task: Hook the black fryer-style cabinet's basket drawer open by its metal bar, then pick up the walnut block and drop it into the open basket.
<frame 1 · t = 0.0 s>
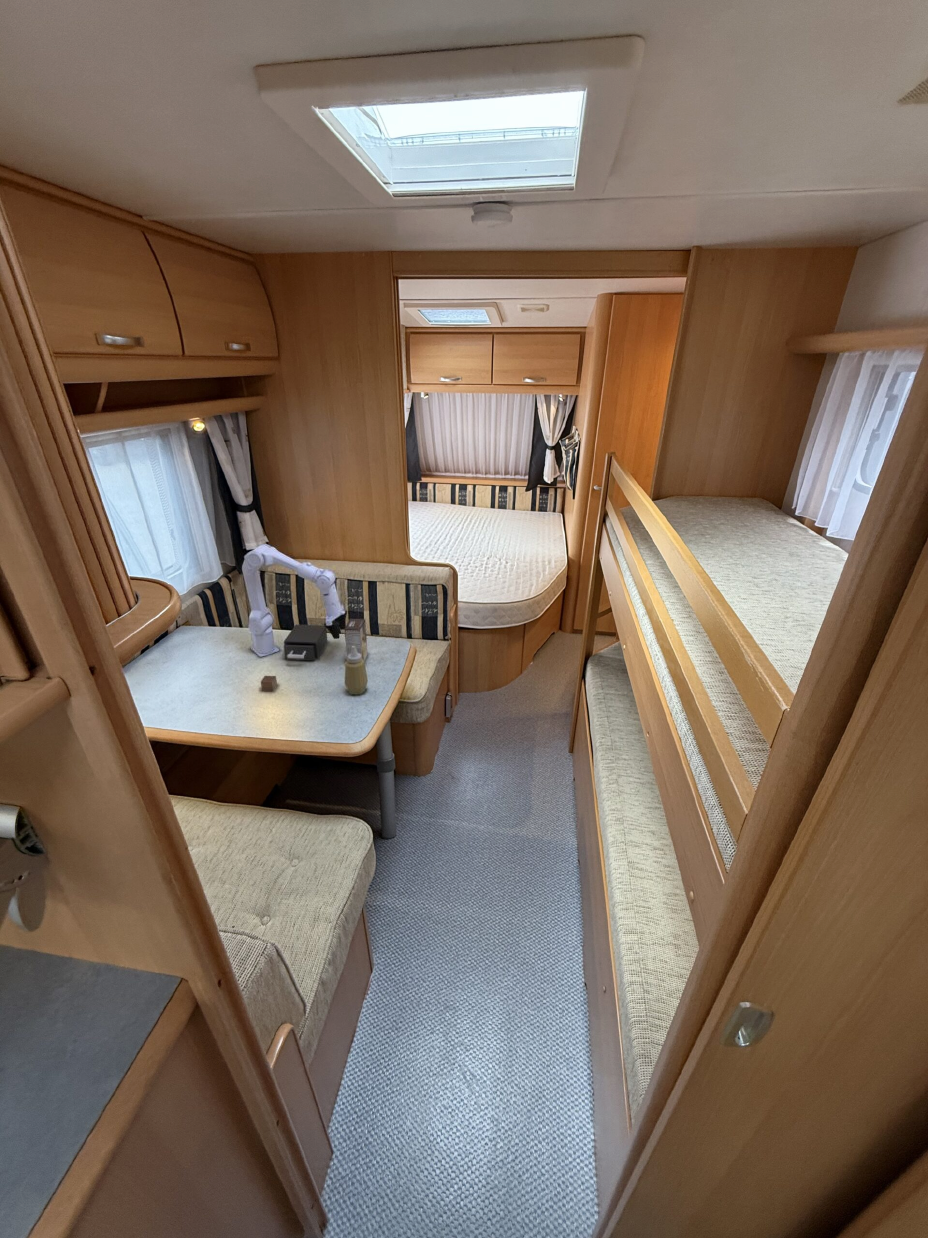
hand: (340, 633, 192), 11 cm above the table, tool pointing down, fingers open, 7 cm apart
coffee box: (357, 660, 196), on the table
squeeze bottle: (357, 690, 177), on the table
block: (269, 688, 176), on the table
basket: (302, 647, 195), point 4 cm above the table, slide at 1.0 cm
fryer: (307, 649, 201), on the table
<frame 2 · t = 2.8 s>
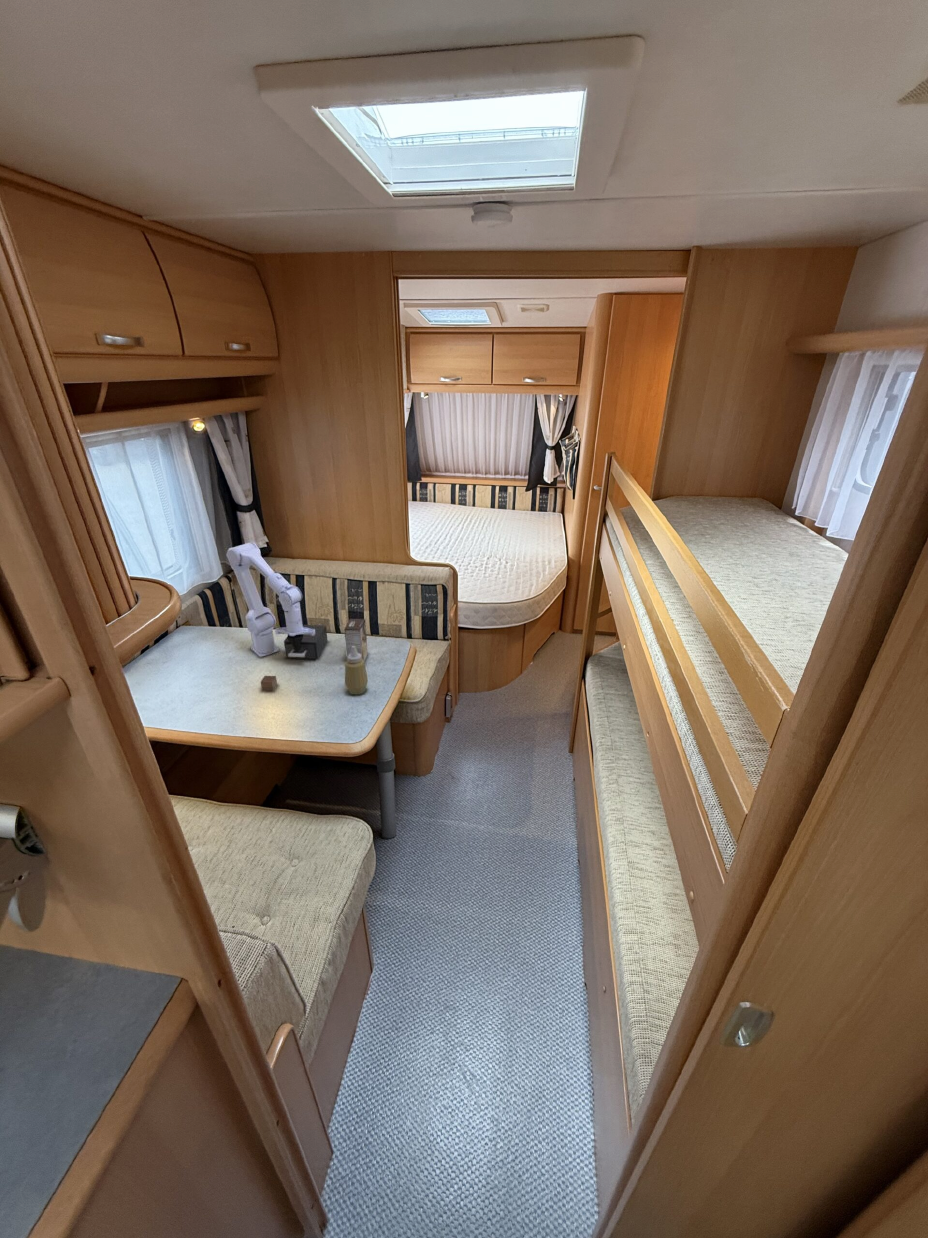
hand: (297, 650, 189), 6 cm above the table, tool pointing down, fingers closed
basket: (303, 646, 196), point 4 cm above the table, slide at 0.0 cm
everything else where it was.
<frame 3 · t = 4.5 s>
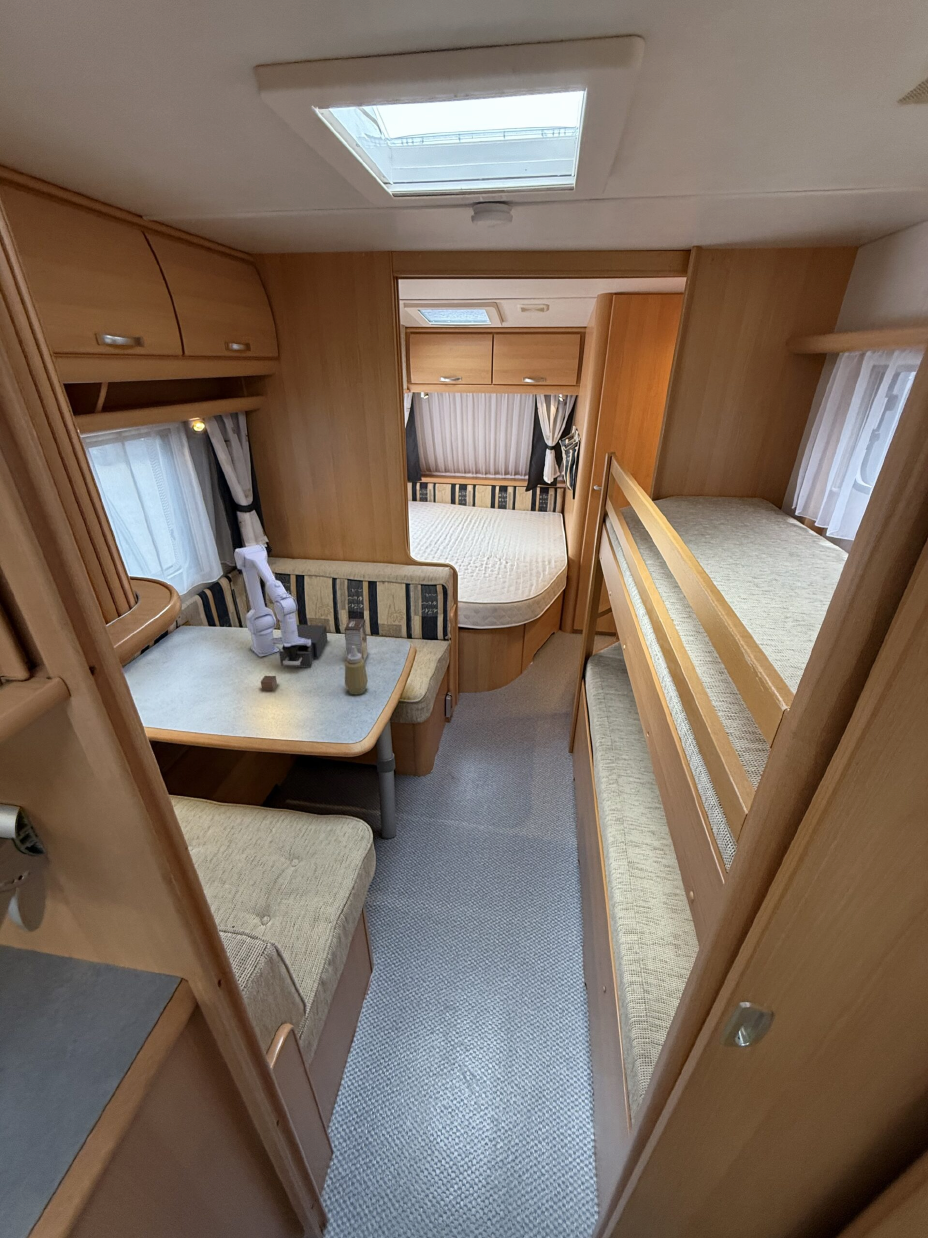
hand: (293, 661, 185), 4 cm above the table, tool pointing down, fingers closed, pressing on basket
basket: (298, 653, 191), point 4 cm above the table, slide at 5.8 cm, touching gripper
everything else where it was.
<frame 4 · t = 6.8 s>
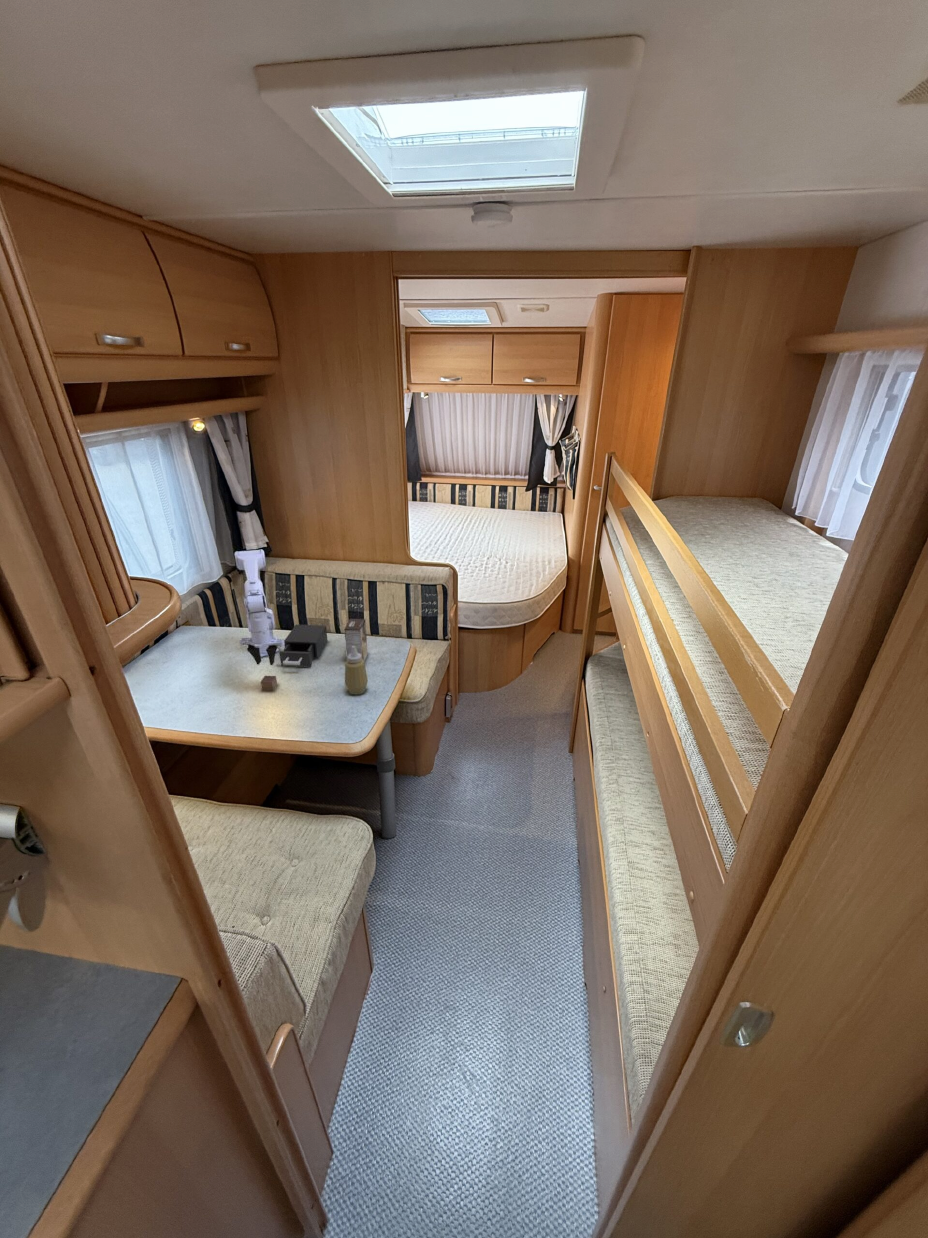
hand: (265, 663, 171), 10 cm above the table, tool pointing down, fingers open, 4 cm apart
basket: (298, 653, 191), point 4 cm above the table, slide at 5.8 cm
everything else where it was.
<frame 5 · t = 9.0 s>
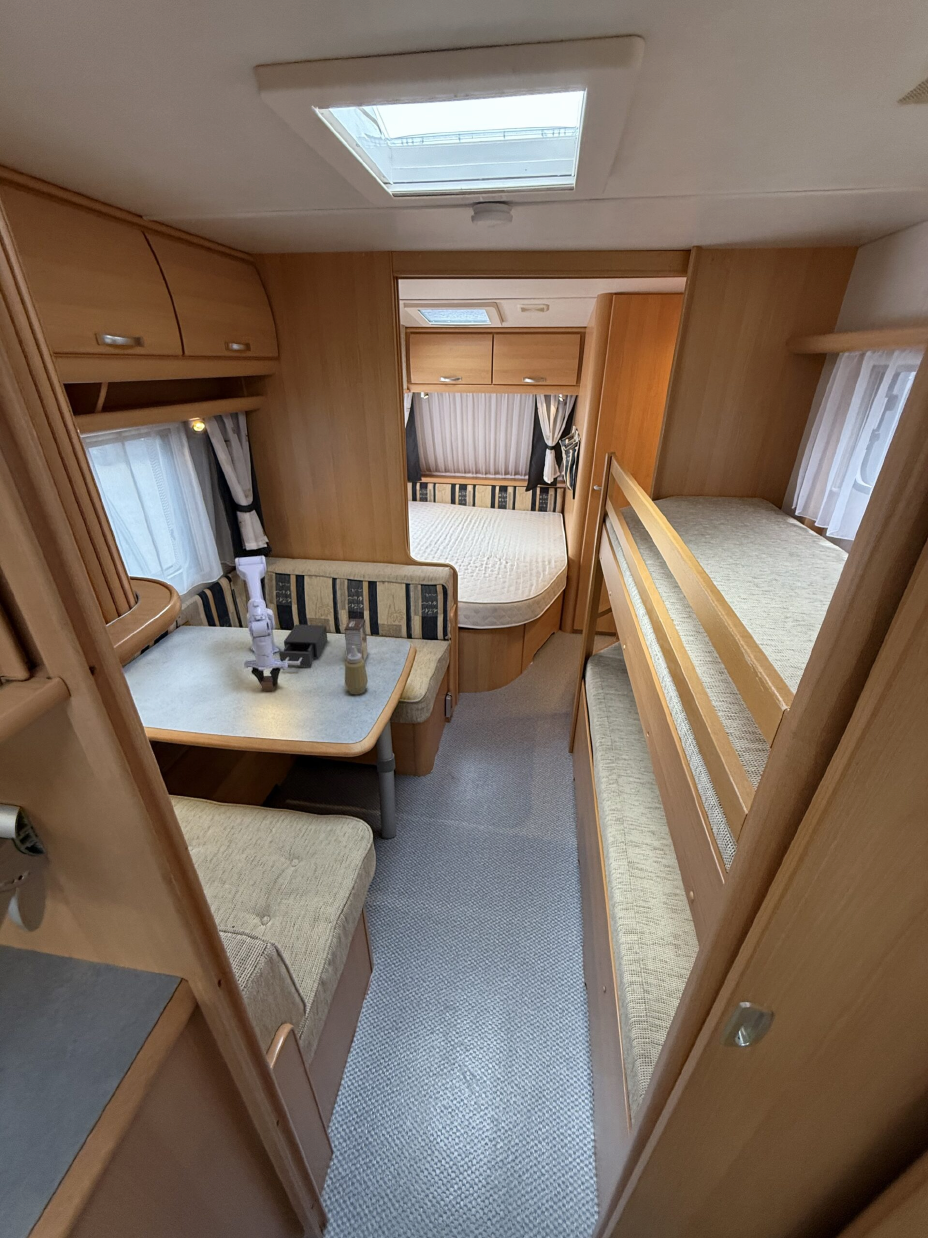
hand: (269, 684, 175), 1 cm above the table, tool pointing down, fingers closed on block, 4 cm apart
block: (269, 688, 176), on the table, touching gripper
everything else where it was.
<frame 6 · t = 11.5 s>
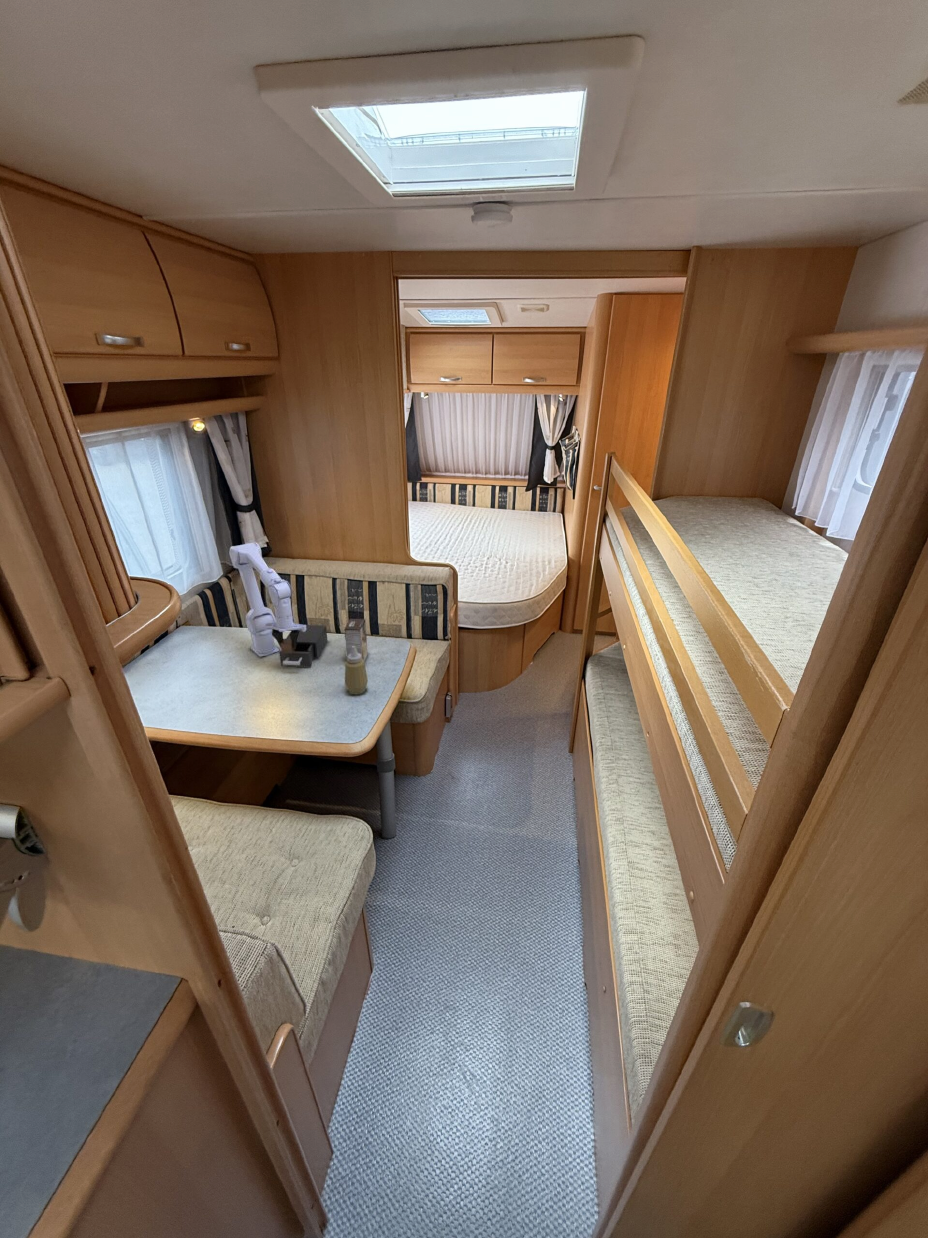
hand: (288, 647, 183), 10 cm above the table, tool pointing down, fingers closed on block, 4 cm apart
block: (288, 650, 184), point 8 cm above the table, touching gripper
everything else where it was.
when the fingers open (6 cm above the table, at t = 13.8 s): block drops 3 cm, resting on basket.
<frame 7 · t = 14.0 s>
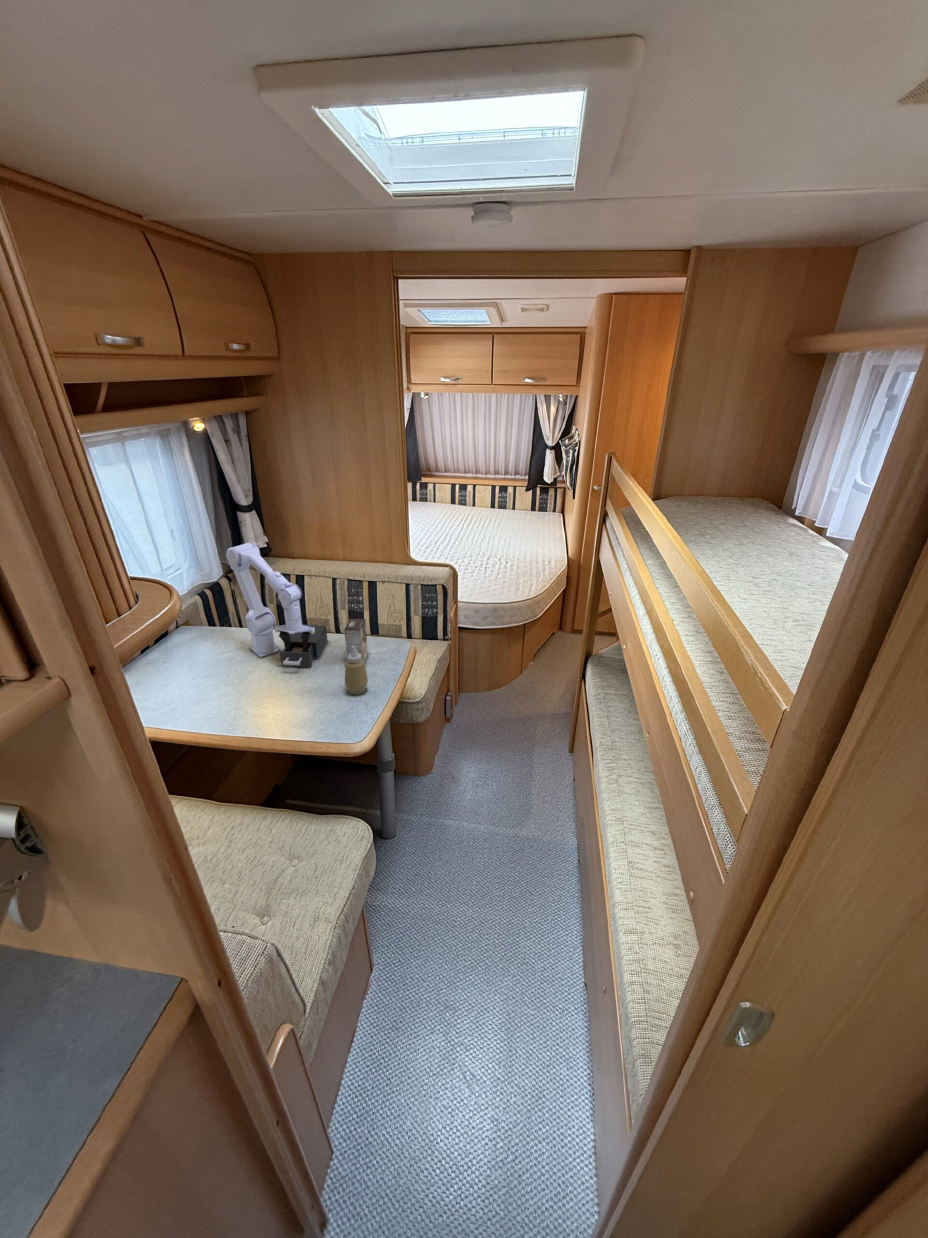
hand: (297, 648, 189), 7 cm above the table, tool pointing down, fingers open, 6 cm apart
block: (298, 658, 191), point 2 cm above the table, touching basket
basket: (298, 653, 191), point 4 cm above the table, slide at 5.8 cm, touching block
everything else where it was.
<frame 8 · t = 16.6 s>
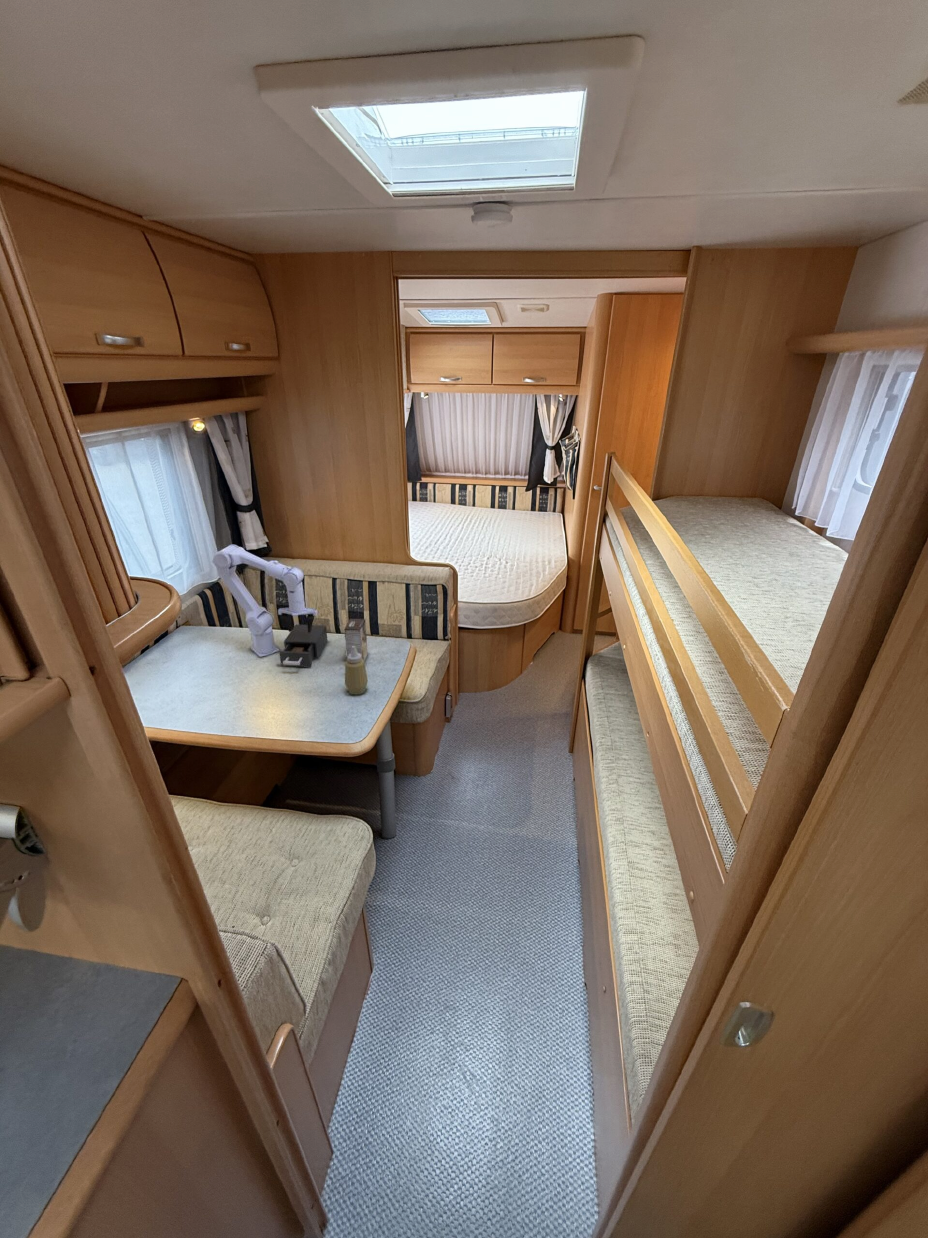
hand: (300, 631, 194), 10 cm above the table, tool pointing down, fingers open, 7 cm apart
nothing on the table moved.
at the end: basket slide at 5.8 cm; block inside the target area in the basket (0.2 cm from its centre), point 2.0 cm above the fryer's base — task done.
